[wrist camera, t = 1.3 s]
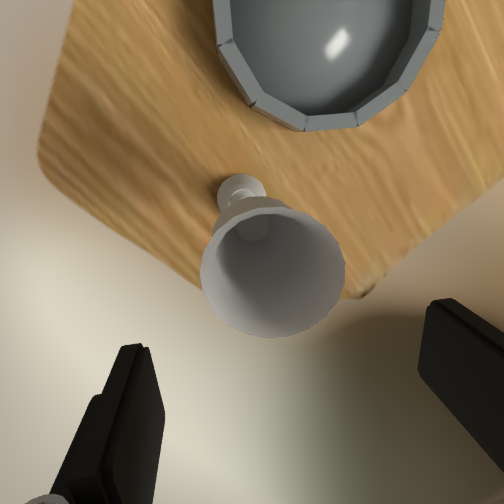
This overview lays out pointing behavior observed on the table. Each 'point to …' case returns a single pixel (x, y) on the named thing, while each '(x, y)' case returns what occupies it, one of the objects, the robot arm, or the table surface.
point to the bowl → (324, 55)
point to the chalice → (269, 263)
